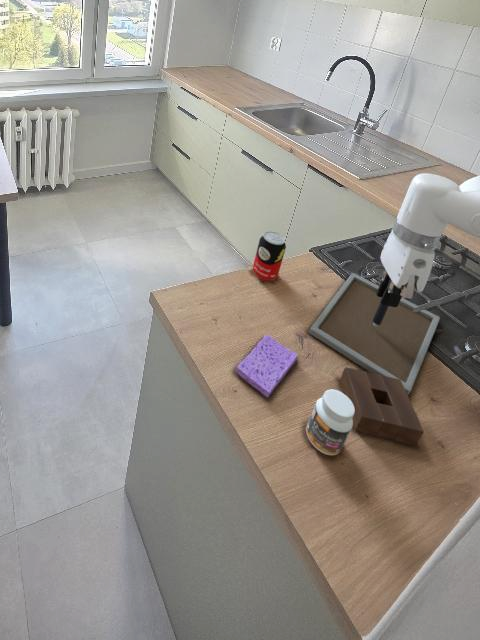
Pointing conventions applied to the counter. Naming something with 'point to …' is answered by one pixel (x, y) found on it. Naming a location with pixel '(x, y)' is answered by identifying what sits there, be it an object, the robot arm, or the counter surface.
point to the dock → (381, 406)
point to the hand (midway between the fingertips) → (386, 300)
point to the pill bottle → (330, 422)
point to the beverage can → (269, 255)
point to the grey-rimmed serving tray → (376, 331)
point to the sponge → (266, 365)
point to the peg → (380, 312)
